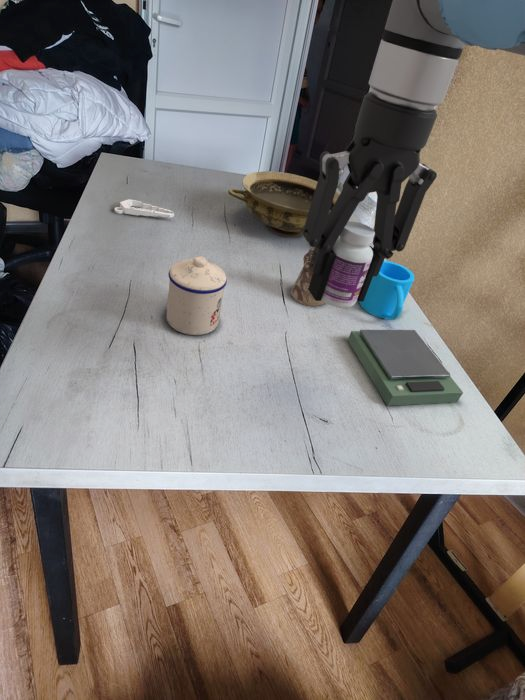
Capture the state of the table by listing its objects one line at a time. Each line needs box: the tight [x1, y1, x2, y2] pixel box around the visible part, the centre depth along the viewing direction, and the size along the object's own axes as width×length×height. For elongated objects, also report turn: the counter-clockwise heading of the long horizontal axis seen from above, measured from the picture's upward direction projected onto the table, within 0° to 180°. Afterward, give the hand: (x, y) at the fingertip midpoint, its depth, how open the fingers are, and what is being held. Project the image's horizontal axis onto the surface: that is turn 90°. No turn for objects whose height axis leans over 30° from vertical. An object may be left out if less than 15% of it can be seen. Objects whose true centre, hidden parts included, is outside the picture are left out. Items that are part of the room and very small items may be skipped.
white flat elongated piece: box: [114, 199, 175, 219], centre depth 108 cm, size 13×5×2 cm, turn 94°
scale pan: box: [359, 329, 451, 380], centre depth 79 cm, size 12×11×1 cm
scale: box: [347, 330, 464, 407], centre depth 80 cm, size 16×13×3 cm
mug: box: [359, 260, 415, 321], centre depth 92 cm, size 12×8×8 cm
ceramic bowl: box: [227, 170, 340, 237], centre depth 114 cm, size 30×24×10 cm
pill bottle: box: [321, 220, 375, 309], centre depth 59 cm, size 5×5×10 cm
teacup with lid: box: [166, 255, 228, 336], centre depth 77 cm, size 12×9×12 cm
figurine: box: [290, 246, 326, 307], centre depth 90 cm, size 7×7×12 cm
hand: (336, 295), depth 62 cm, fingers closed on pill bottle, 5 cm apart
